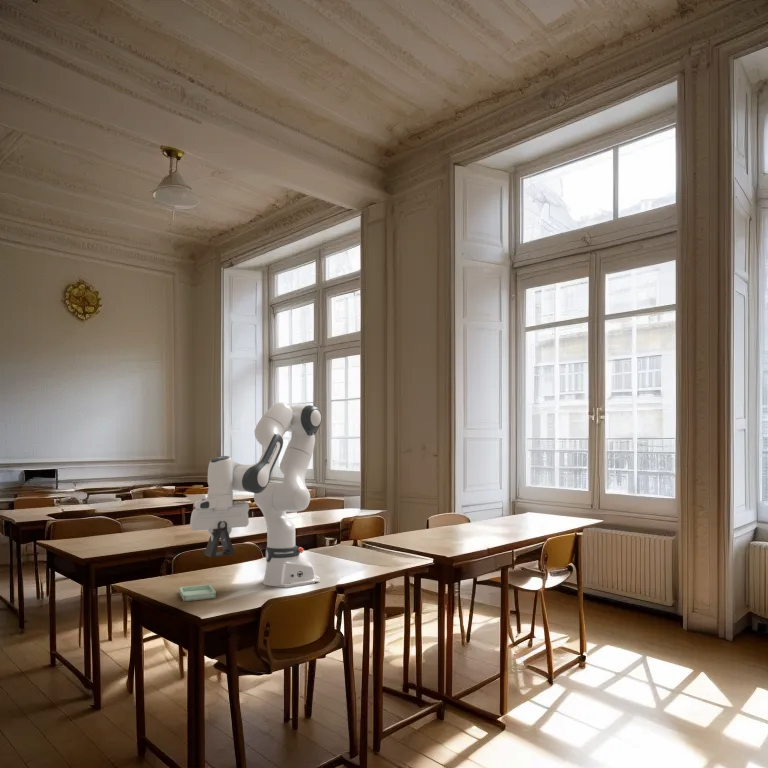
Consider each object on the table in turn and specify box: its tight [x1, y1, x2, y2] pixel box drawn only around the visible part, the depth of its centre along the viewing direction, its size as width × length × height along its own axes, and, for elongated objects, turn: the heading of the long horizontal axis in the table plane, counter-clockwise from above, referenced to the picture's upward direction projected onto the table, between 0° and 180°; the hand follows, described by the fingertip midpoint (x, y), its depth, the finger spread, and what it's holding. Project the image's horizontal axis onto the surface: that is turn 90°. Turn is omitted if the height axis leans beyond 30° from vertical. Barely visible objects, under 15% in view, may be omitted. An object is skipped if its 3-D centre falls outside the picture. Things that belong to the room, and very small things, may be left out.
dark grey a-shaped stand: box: [203, 521, 236, 558], centre depth 229 cm, size 9×6×12 cm, turn 126°
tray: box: [179, 583, 217, 603], centre depth 235 cm, size 11×13×2 cm
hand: (219, 541), depth 229 cm, fingers closed on dark grey a-shaped stand, 3 cm apart
